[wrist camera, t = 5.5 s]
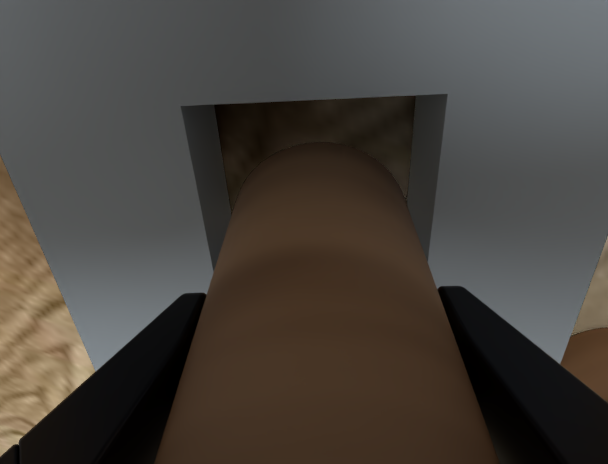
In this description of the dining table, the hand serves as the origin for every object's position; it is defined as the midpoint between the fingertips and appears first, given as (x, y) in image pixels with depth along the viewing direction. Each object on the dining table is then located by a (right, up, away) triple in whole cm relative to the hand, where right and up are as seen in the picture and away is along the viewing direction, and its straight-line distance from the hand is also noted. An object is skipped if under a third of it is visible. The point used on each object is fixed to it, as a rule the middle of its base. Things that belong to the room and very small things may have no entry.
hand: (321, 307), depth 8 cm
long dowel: (0, +2, +2) cm, 3 cm away
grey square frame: (0, +3, +5) cm, 6 cm away
